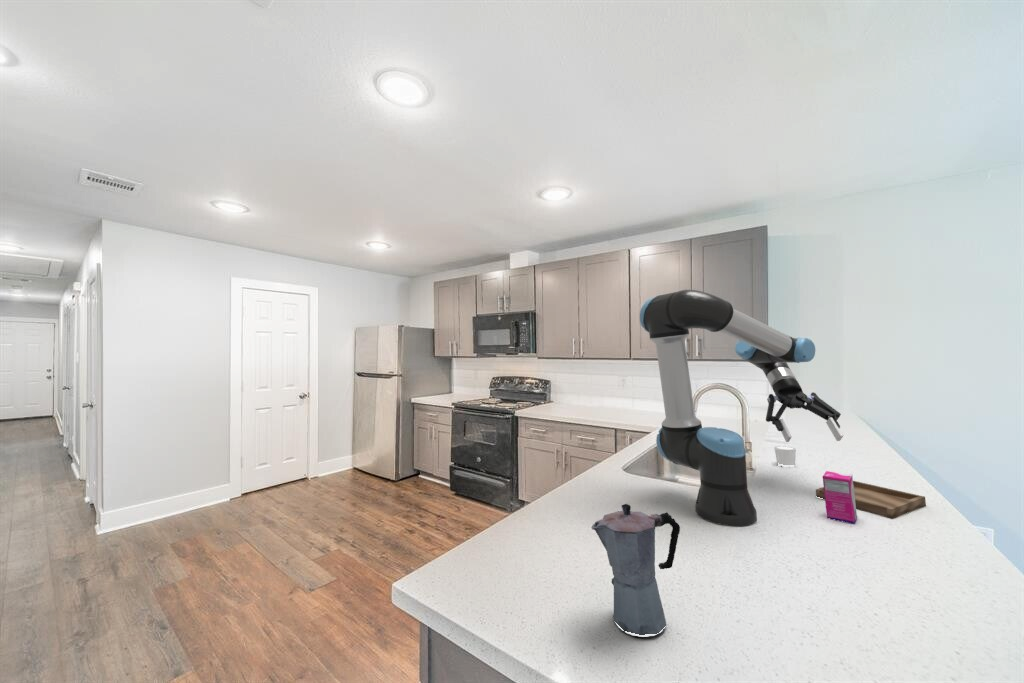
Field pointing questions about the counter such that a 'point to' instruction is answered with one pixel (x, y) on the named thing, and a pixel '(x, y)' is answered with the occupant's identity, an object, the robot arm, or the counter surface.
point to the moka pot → (636, 566)
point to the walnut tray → (882, 500)
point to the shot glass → (785, 455)
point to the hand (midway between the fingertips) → (814, 439)
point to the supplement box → (840, 496)
